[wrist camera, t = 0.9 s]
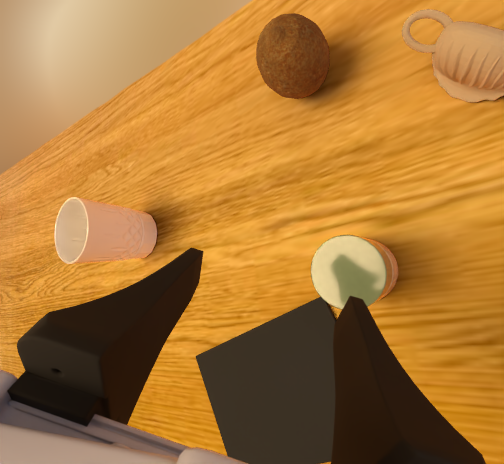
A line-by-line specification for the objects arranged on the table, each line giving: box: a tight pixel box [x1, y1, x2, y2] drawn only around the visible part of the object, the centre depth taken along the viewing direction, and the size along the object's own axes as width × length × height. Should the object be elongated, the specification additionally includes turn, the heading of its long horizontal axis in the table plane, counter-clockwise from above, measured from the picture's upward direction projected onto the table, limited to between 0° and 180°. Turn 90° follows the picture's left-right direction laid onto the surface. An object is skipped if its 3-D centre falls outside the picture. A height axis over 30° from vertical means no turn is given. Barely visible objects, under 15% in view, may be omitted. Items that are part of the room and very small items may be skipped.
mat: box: [196, 297, 336, 464], centre depth 30 cm, size 13×18×1 cm
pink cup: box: [55, 197, 157, 264], centre depth 39 cm, size 8×8×10 cm
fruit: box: [257, 14, 329, 99], centre depth 27 cm, size 6×6×8 cm
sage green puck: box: [311, 235, 393, 309], centre depth 23 cm, size 5×5×3 cm
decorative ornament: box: [402, 9, 504, 102], centre depth 21 cm, size 4×8×5 cm, turn 49°
